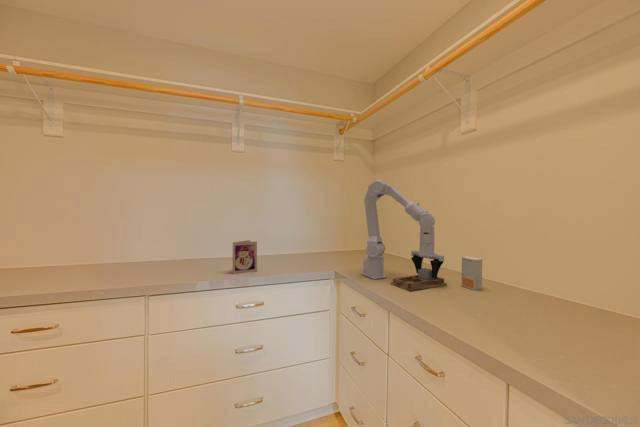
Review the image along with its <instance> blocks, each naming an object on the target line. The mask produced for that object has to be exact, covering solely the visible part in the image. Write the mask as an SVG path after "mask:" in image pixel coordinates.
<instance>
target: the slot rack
mask: <svg viewBox="0 0 640 427" xmlns="http://www.w3.org/2000/svg"><path fill="white" fill-rule="evenodd" d="M390 285H392V286H394V287H397V288H400V289H402V290H404V291H407V292H409V293H412V292H417V291H423V290H429V289H434V288H439V287H444V286H447V285H448V283H447V282H445V278H443V277H439V276H437V277H436V278H434V280H427V281H426V280H423V279H419V278H418V274H417V275H410V276H409V275H407V276H402V277H395V278H392V281H391V282H390Z"/></svg>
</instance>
